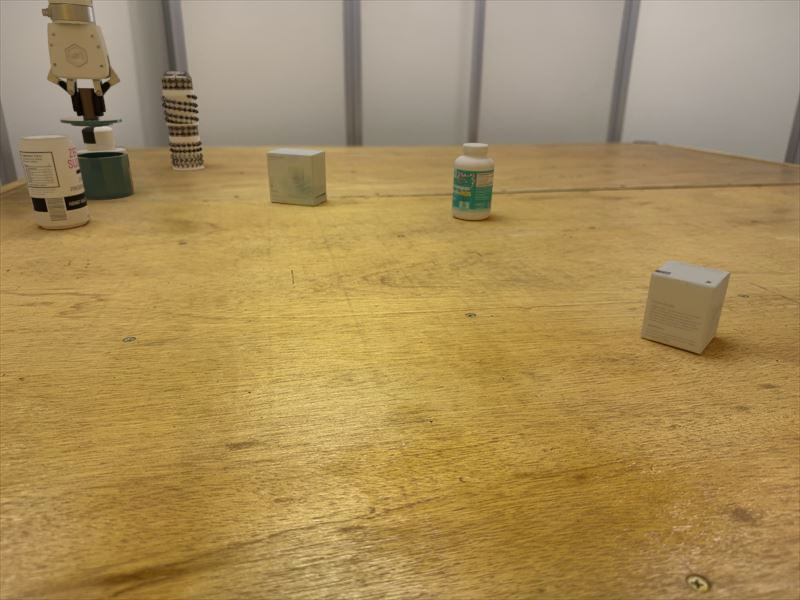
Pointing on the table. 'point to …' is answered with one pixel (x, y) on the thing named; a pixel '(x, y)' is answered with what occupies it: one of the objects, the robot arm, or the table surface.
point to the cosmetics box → (297, 176)
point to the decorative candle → (182, 120)
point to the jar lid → (89, 112)
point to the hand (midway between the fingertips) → (90, 115)
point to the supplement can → (54, 180)
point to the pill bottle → (473, 183)
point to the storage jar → (105, 175)
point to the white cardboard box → (684, 305)
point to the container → (99, 140)
